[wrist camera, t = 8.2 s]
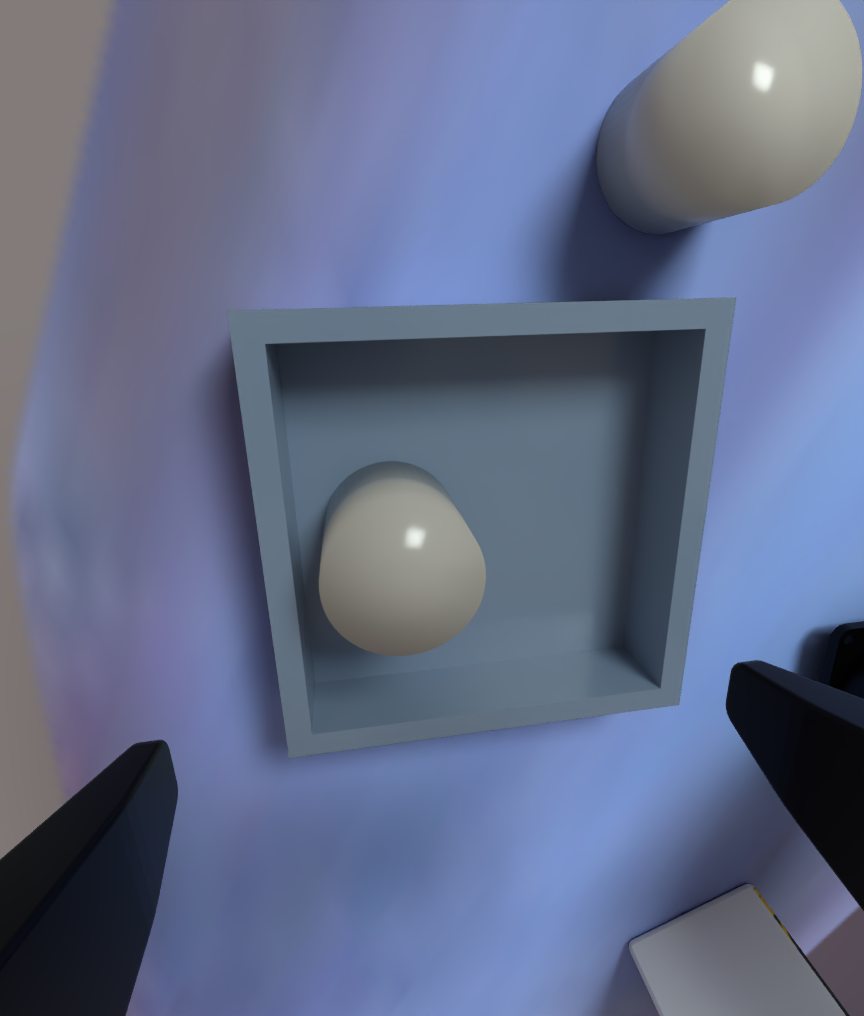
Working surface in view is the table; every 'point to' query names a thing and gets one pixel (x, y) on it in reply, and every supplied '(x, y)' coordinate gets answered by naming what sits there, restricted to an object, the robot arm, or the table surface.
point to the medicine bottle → (730, 963)
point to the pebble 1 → (398, 561)
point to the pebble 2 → (732, 115)
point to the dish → (490, 500)
